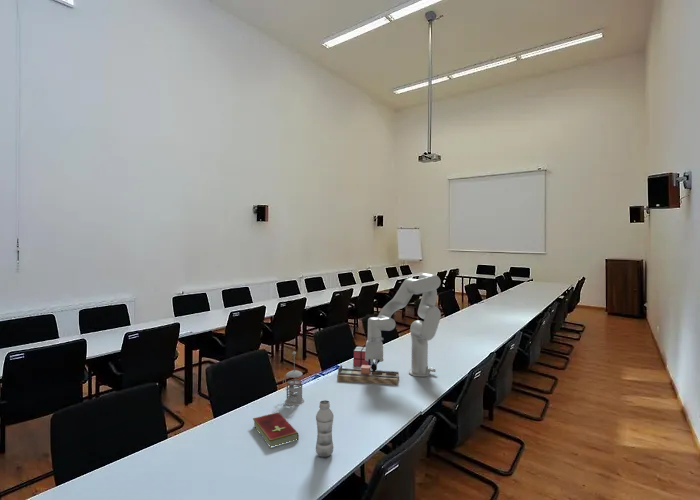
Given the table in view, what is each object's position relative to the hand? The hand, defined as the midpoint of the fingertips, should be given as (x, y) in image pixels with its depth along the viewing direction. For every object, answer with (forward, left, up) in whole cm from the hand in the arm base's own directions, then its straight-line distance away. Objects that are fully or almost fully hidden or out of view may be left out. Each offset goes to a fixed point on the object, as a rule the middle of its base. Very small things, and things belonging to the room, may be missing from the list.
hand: (374, 370), depth 220 cm
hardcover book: (+34, +67, -6) cm, 75 cm away
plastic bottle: (+9, +79, -5) cm, 80 cm away
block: (+5, 0, -2) cm, 5 cm away
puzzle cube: (+10, -24, -5) cm, 27 cm away
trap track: (+3, 0, -5) cm, 6 cm away
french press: (+36, +36, -5) cm, 51 cm away
